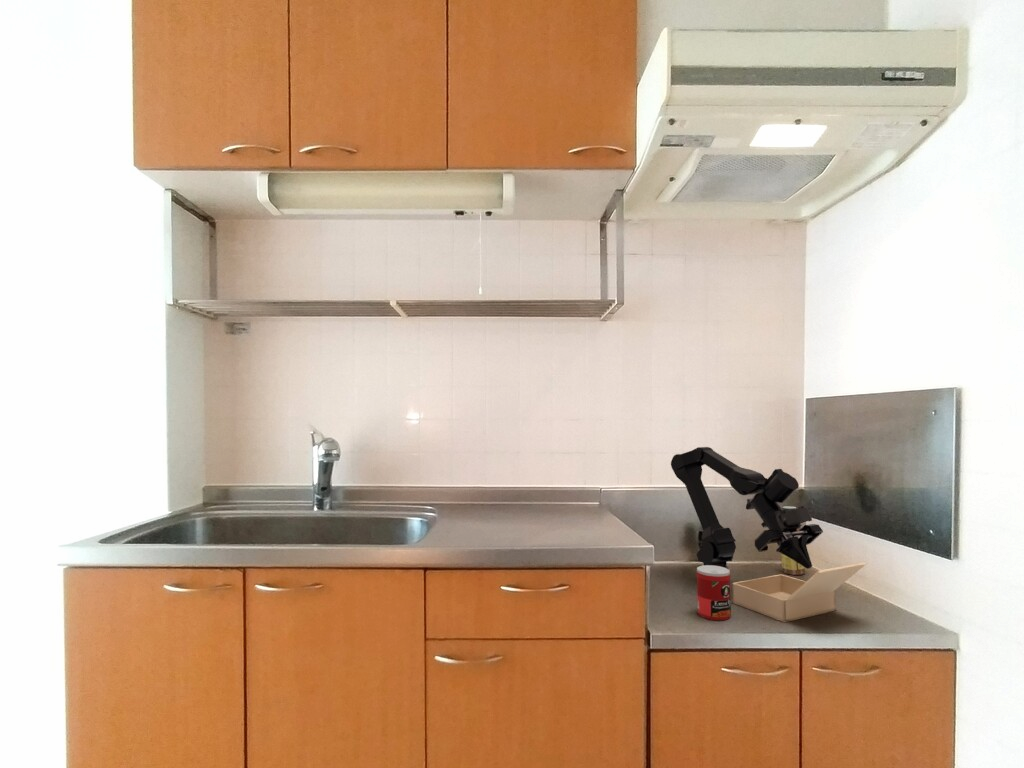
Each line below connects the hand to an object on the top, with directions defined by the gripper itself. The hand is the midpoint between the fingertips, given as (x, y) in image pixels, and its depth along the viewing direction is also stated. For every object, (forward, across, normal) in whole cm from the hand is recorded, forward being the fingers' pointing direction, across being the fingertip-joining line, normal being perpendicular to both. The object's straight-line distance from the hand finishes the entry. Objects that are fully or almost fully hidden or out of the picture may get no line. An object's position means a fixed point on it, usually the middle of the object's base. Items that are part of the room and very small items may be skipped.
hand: (810, 567), depth 144 cm
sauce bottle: (-11, +28, +29) cm, 42 cm away
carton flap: (+4, 0, -2) cm, 5 cm away
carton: (+3, 0, +14) cm, 14 cm away
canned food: (+1, -20, +16) cm, 26 cm away
